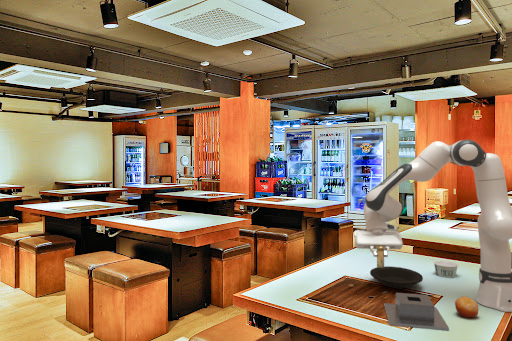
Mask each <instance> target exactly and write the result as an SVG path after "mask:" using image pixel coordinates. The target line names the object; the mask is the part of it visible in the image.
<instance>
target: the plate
mask: <svg viewBox="0 0 512 341" xmlns="http://www.w3.org/2000/svg"><path fill="white" fill-rule="evenodd" d="M369 273H370V276H371V278H373V279H375V280H376V281H378V282H379V283H381V284H382V285H384V286H386V287H387V288H391V289H395V290H397V289H399V290H401V289H403V290H404V289H407V288H410V287H412V286H415V285H417V284H420V283H421V282H422V281H423V280H424V277H423V275H422V274H421V273H420V272H418V271H415V270H412V269H410V268H405V267H401V266H384V268H379V267H377V266H376V267H373V268H372V269H370V272H369Z"/></svg>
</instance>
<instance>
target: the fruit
mask: <svg viewBox="0 0 512 341" xmlns="http://www.w3.org/2000/svg"><path fill="white" fill-rule="evenodd" d="M454 306H455V309H456V313H458V315H460V316H461V317H462V318H474V317H475V318H476V316H478V315H479V303H478V302H477V301H476V300H474V299H472V298H470V297H468V296H461V297H459V298H457V299H456V300H454Z"/></svg>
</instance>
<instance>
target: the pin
mask: <svg viewBox="0 0 512 341" xmlns="http://www.w3.org/2000/svg"><path fill="white" fill-rule="evenodd" d="M375 250H376V252H377V254H378V256H377V257H376V268H377V267H379V268H384V267H385V257H384V252H385V246H379V245H378V246H376V249H375Z"/></svg>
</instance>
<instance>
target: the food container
mask: <svg viewBox="0 0 512 341" xmlns="http://www.w3.org/2000/svg"><path fill="white" fill-rule="evenodd" d="M432 263H433V264H434V269H435V270H434V271H435V275H436V276H437V277H440V278H445V279H454V278H456V276H457V270H458V267H459V263H457V262H455V261H449V260H434V261H433V262H432Z"/></svg>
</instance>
